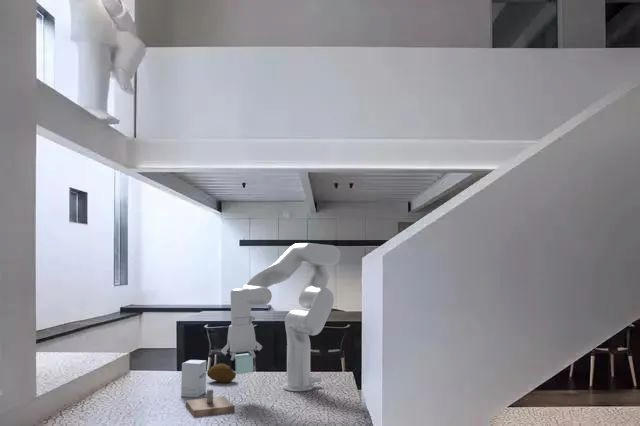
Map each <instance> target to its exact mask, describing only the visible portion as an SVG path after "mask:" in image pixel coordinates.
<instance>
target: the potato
mask: <svg viewBox="0 0 640 426" xmlns="http://www.w3.org/2000/svg"><path fill="white" fill-rule="evenodd" d="M206 376H207V377H208V378H210V379H211V380H213V381H215V382H218V383H224V384H225V383H230V382H233V381H234V379H235V378H236V377H237V374H236V373H234V372H233V371H232V369H231V368H230V365H227V364H226V363H217V364H214V365H212V366H211V367H210V368H209V369H207V371H206Z"/></svg>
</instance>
